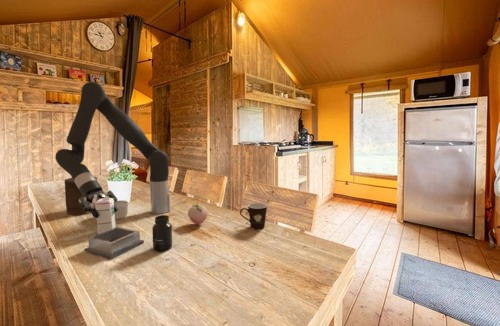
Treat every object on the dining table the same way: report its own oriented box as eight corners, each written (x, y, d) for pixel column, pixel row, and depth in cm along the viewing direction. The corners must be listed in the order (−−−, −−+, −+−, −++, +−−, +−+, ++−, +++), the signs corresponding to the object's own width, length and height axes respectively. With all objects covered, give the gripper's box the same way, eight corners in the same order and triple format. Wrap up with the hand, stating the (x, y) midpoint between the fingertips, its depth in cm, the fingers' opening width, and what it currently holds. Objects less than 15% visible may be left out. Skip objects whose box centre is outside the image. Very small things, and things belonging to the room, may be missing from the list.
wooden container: (104, 209, 137) (101, 170, 135) (74, 217, 125) (70, 174, 122) (91, 205, 145) (88, 168, 143) (61, 212, 133) (57, 172, 130)
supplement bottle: (154, 254, 87) (152, 221, 86) (152, 246, 93) (150, 215, 92) (174, 249, 90) (172, 218, 89) (170, 242, 96) (169, 213, 95)
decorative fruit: (211, 224, 116) (211, 203, 114) (197, 229, 110) (196, 207, 108) (199, 219, 122) (199, 200, 121) (185, 224, 116) (184, 203, 115)
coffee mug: (269, 225, 115) (269, 204, 114) (262, 231, 107) (262, 209, 106) (247, 221, 120) (247, 201, 119) (239, 227, 112) (238, 206, 111)
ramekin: (93, 219, 123) (92, 205, 122) (116, 211, 135) (115, 199, 134) (112, 223, 118) (111, 208, 117) (134, 214, 130) (134, 201, 129)
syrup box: (113, 234, 105) (110, 200, 103) (97, 235, 103) (94, 201, 101) (116, 229, 110) (114, 197, 108) (101, 230, 108) (98, 198, 107)
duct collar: (119, 236, 102) (118, 225, 101) (144, 242, 96) (143, 230, 95) (84, 251, 89) (83, 238, 88) (111, 259, 83) (110, 245, 83)
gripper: (74, 182, 100) (94, 213, 97) (107, 177, 113) (126, 204, 110) (67, 194, 103) (87, 224, 100) (100, 187, 116) (118, 214, 113)
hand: (107, 213), depth 105 cm, fingers closed on syrup box, 8 cm apart
